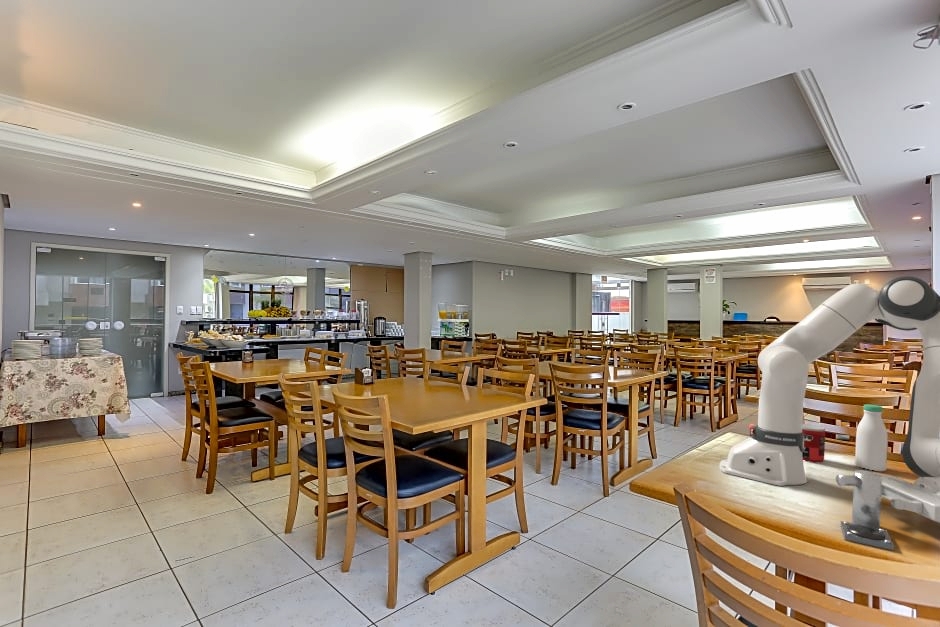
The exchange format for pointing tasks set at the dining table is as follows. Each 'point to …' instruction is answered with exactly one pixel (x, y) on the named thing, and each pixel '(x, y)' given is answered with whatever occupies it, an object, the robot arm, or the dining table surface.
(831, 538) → the dining table surface
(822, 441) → the canned food
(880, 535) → the duct flange
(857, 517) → the grey pipe with spout
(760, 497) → the dining table surface
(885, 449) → the milk bottle
